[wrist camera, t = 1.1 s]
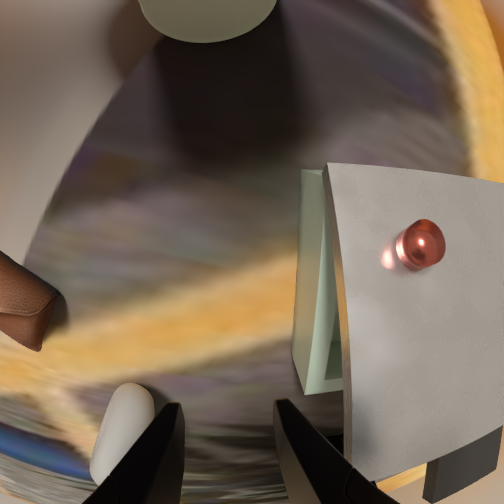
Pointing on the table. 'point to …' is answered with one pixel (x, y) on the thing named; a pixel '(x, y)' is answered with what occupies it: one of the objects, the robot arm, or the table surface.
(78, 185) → the table surface
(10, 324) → the sunglasses case
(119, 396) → the donut
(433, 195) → the lid
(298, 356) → the shallow mint tray
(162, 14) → the can
